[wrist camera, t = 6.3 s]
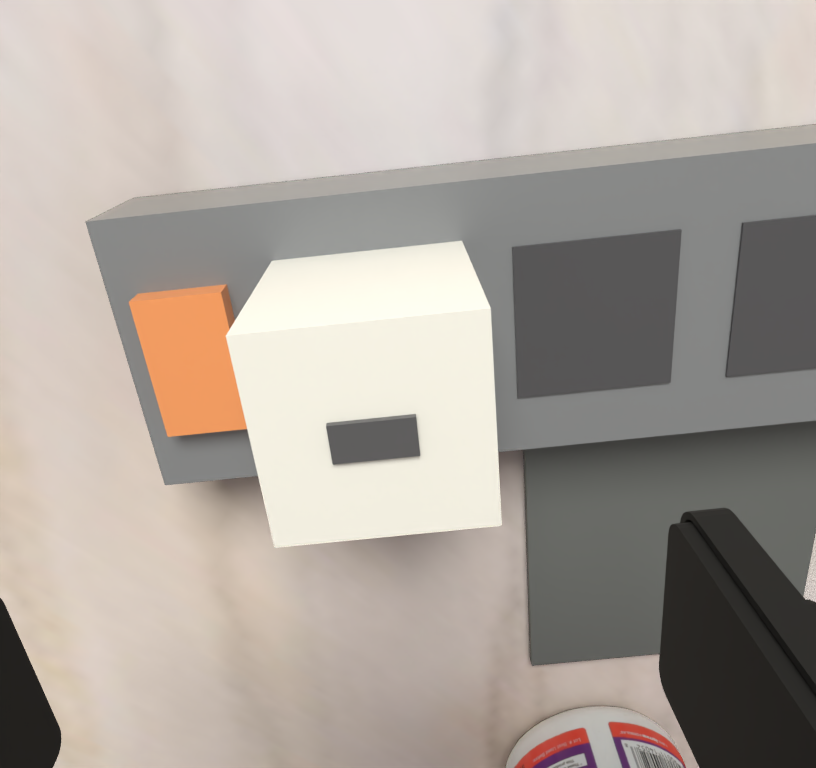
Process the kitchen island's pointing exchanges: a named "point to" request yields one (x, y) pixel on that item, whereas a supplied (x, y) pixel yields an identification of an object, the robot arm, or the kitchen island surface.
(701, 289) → the power strip
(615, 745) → the pill bottle
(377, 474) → the block
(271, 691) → the kitchen island surface
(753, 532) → the mat
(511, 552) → the kitchen island surface
